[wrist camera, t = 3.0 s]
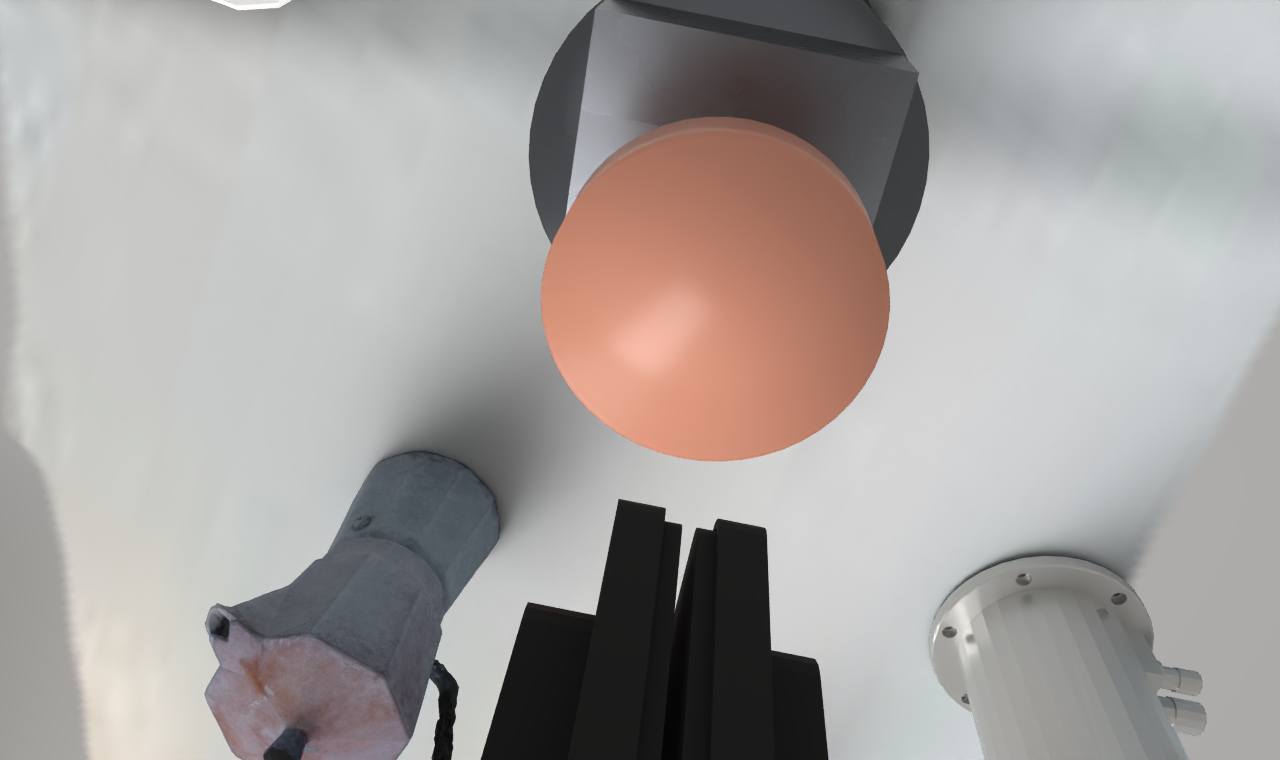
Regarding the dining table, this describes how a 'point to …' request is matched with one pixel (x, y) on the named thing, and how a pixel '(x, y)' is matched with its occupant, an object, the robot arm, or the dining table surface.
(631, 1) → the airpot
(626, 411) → the pink rounded piece
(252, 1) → the plate
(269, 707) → the moka pot
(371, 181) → the dining table surface
